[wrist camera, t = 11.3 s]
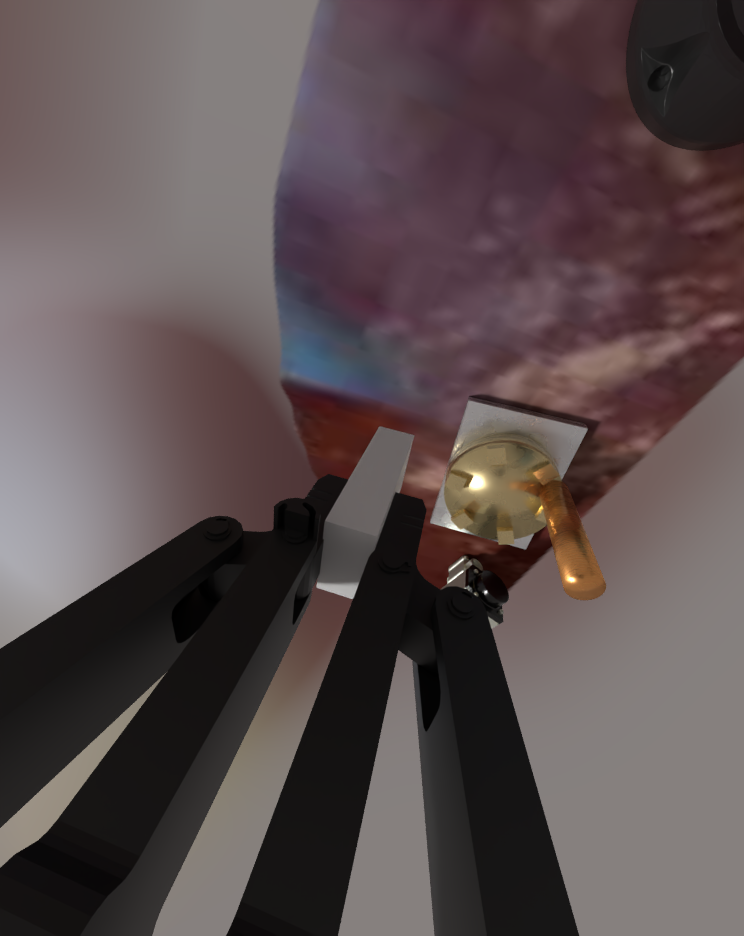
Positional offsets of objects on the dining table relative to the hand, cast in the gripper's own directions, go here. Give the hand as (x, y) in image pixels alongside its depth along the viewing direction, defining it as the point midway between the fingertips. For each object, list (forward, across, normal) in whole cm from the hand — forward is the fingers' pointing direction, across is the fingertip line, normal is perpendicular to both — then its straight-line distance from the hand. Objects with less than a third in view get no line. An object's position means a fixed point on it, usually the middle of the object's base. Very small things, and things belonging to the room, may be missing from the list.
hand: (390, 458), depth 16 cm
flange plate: (+29, +11, -15) cm, 35 cm away
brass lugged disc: (+28, +11, -15) cm, 33 cm away
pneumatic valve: (+29, +11, -31) cm, 44 cm away
